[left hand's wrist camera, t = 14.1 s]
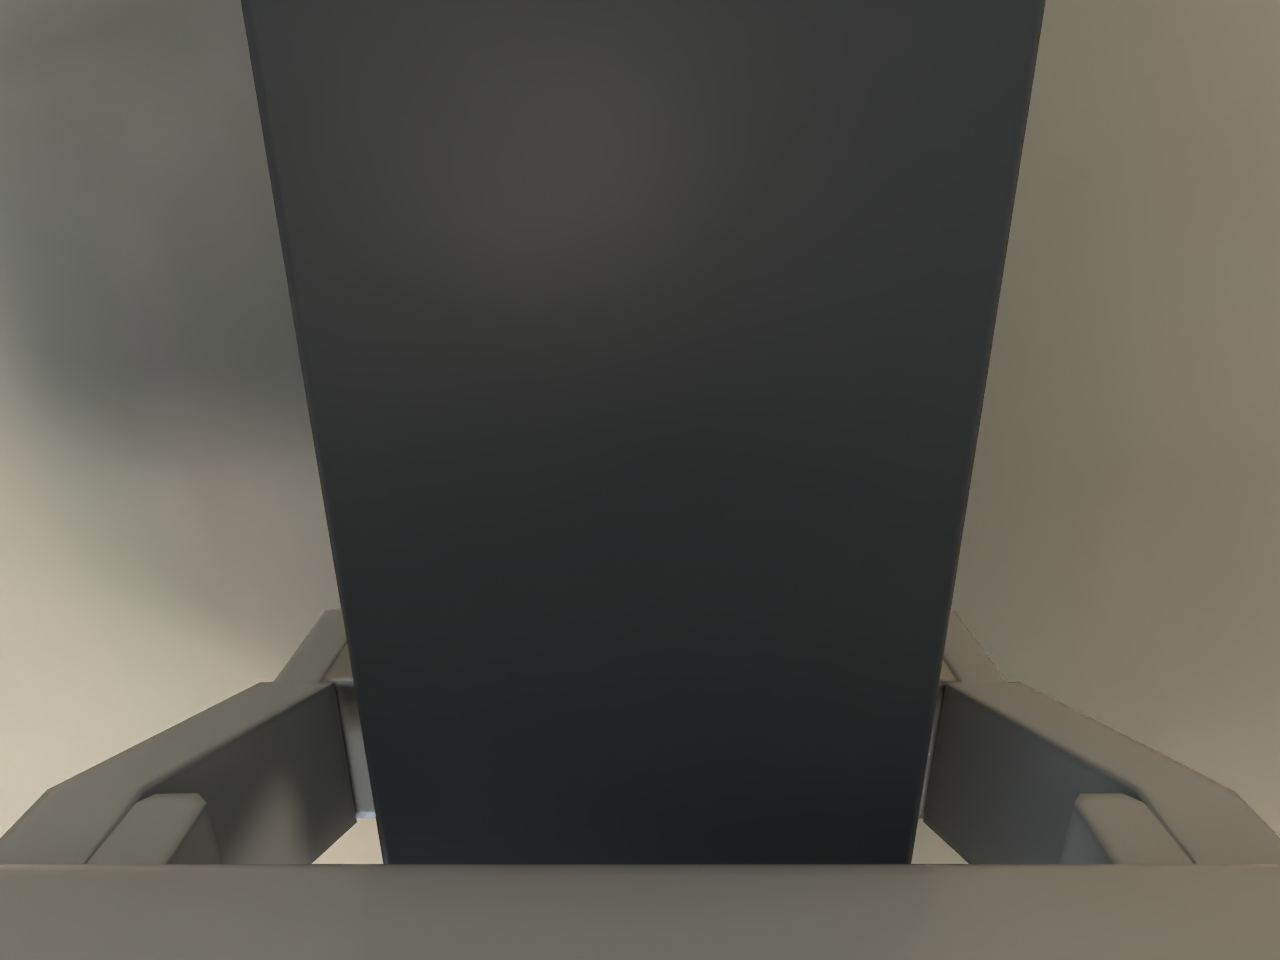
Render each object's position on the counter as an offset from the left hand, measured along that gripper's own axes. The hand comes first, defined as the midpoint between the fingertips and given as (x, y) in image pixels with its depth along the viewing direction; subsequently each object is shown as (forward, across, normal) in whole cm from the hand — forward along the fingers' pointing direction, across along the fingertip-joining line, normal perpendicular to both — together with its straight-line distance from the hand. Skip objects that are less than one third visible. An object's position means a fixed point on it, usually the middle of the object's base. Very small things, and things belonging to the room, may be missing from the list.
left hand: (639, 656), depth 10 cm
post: (+5, 0, -26) cm, 27 cm away
